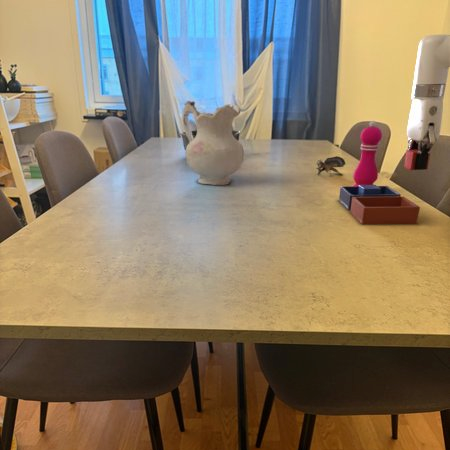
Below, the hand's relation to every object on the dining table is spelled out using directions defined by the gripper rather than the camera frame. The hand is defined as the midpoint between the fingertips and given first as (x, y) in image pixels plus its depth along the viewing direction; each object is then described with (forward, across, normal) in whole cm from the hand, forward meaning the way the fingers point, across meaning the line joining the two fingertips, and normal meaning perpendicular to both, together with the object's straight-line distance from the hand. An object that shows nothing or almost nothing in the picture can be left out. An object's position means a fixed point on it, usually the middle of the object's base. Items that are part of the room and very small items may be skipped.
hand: (415, 166), depth 116 cm
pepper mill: (+10, +14, +9) cm, 19 cm away
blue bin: (+9, -3, +13) cm, 16 cm away
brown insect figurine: (+9, +38, +14) cm, 42 cm away
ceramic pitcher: (+8, +30, +56) cm, 64 cm away
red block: (0, 0, 0) cm, 0 cm away
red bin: (+9, -14, +13) cm, 22 cm away
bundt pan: (+8, +82, +57) cm, 100 cm away
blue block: (+9, -3, +13) cm, 16 cm away
